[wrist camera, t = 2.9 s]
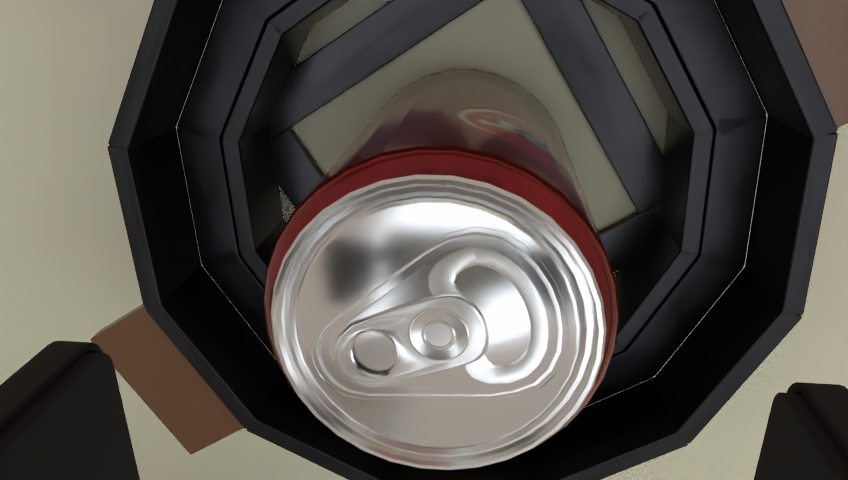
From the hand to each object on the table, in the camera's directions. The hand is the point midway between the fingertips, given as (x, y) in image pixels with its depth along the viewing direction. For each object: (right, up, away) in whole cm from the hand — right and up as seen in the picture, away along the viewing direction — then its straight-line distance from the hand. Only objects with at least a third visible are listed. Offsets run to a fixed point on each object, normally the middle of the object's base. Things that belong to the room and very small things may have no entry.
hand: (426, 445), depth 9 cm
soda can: (+1, +6, +15) cm, 16 cm away
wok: (+1, +6, +15) cm, 16 cm away
